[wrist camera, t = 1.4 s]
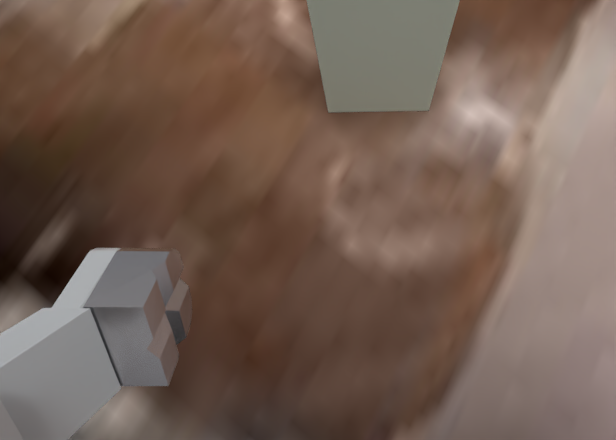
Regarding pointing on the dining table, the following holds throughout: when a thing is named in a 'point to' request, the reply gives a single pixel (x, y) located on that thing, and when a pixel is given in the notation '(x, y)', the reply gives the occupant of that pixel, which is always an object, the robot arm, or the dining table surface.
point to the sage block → (380, 51)
